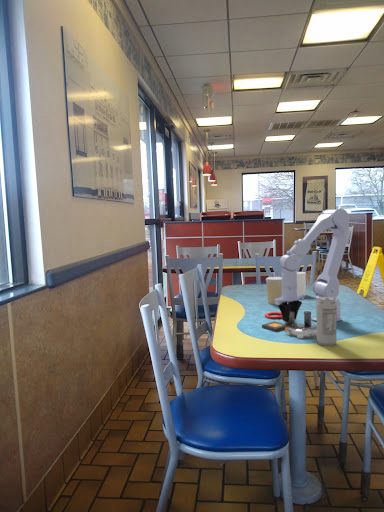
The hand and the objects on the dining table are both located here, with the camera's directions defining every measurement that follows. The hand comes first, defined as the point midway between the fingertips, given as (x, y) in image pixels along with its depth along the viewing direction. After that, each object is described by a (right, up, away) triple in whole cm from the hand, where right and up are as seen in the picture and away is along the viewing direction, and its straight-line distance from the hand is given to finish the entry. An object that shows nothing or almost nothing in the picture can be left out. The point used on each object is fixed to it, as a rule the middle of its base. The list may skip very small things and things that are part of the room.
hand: (289, 320), depth 144 cm
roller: (0, -1, 0) cm, 1 cm away
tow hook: (-3, -1, +11) cm, 12 cm away
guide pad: (-7, -2, -4) cm, 8 cm away
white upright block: (+17, +4, +51) cm, 54 cm away
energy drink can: (+6, -4, -23) cm, 24 cm away
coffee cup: (+3, +2, +37) cm, 37 cm away
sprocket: (+2, -3, -11) cm, 12 cm away
